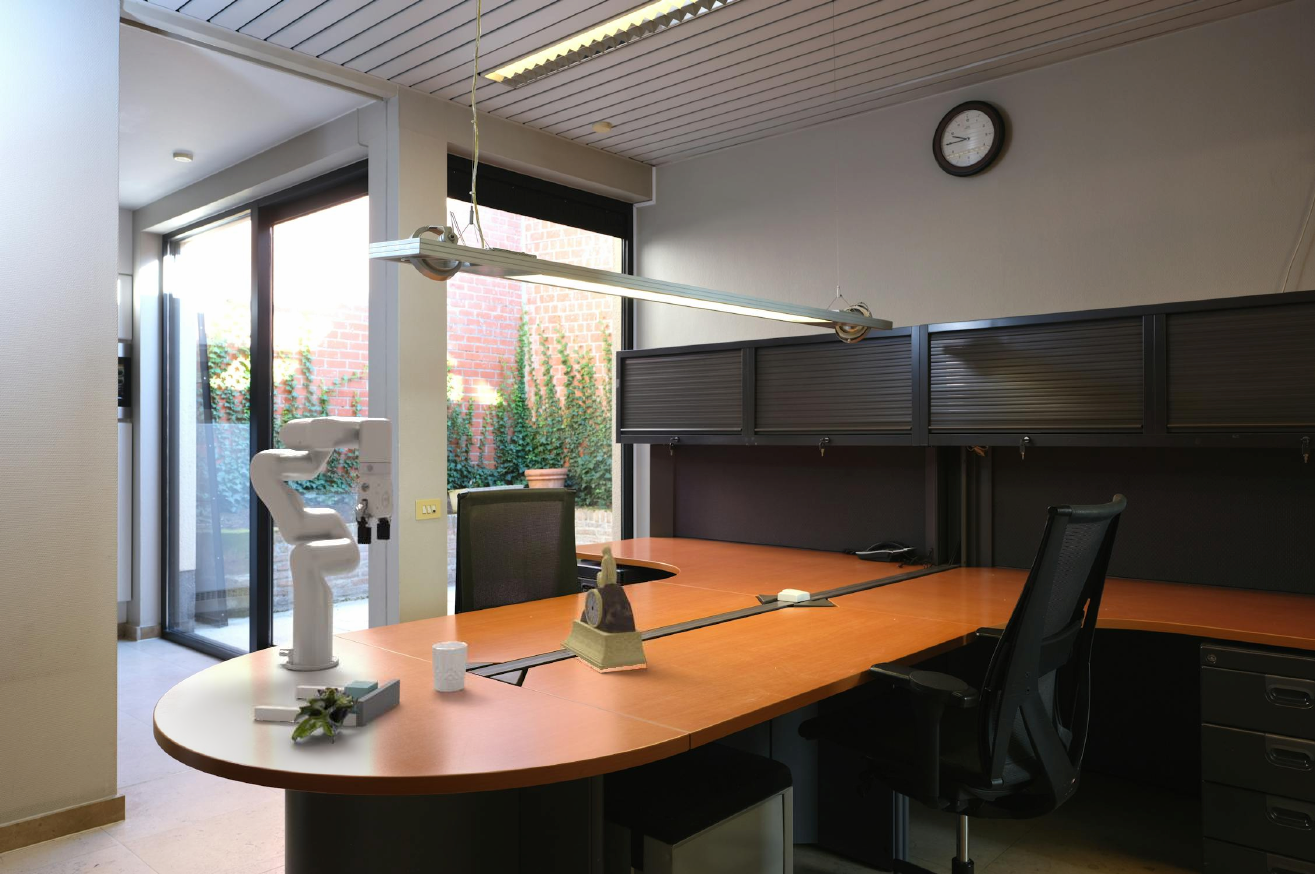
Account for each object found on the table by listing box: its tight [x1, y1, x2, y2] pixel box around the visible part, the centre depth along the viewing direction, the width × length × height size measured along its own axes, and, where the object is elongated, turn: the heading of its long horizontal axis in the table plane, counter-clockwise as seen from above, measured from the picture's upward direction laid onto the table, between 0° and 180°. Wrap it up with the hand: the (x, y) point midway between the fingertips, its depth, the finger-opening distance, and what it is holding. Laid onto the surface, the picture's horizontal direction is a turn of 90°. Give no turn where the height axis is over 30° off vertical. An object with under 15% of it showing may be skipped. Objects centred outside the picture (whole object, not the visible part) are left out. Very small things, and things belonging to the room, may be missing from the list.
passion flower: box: [290, 686, 359, 744], centre depth 169 cm, size 11×11×12 cm
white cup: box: [431, 641, 468, 693], centre depth 205 cm, size 8×8×10 cm
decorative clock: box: [560, 545, 648, 670], centre depth 235 cm, size 28×13×30 cm, turn 27°
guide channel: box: [254, 678, 401, 727], centre depth 187 cm, size 24×17×5 cm
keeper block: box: [343, 680, 379, 709], centre depth 186 cm, size 5×5×6 cm
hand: (374, 541), depth 210 cm, fingers open, 9 cm apart
